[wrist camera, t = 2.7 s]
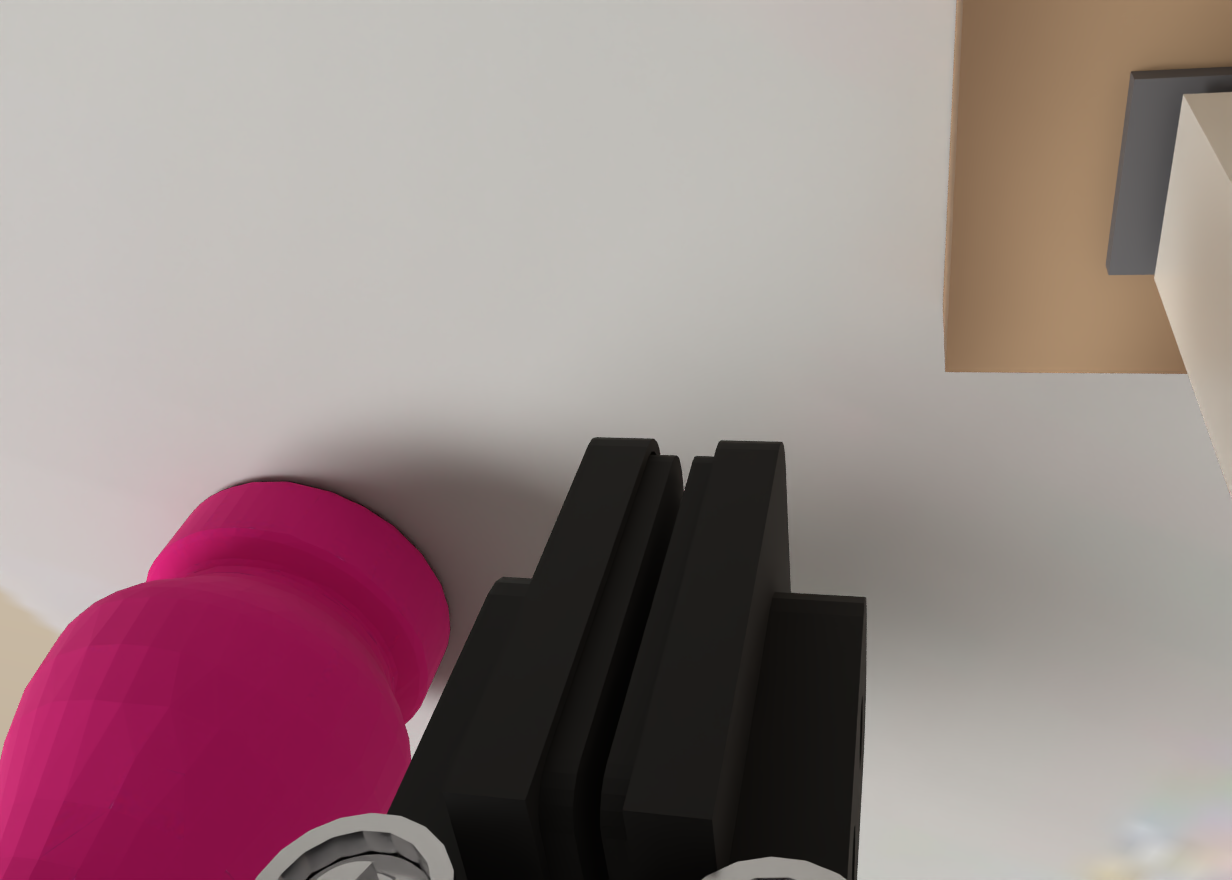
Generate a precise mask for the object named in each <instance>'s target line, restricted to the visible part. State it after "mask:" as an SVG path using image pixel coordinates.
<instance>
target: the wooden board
mask: <svg viewBox="0 0 1232 880" xmlns="http://www.w3.org/2000/svg"><path fill="white" fill-rule="evenodd" d="M1220 92H1232V0H957V2H956V24H955V47H954V69H953V91H952V114H951V136H950V158H949V181H948V203H947V225H946V248H945V270H944V292H943V323H944V349H945V372H1021V373H1161V374H1188V373H1187V370H1186V368H1185V365H1184V362H1183V359H1182V356H1181V353H1180V351H1179V348H1178V345H1177V342H1176V339H1175V336H1174V334H1173V331H1172V328H1171V325H1170V322H1169V319H1168V316H1167V314H1166V311H1165V308H1164V305H1163V302H1162V299H1161V297H1160V294H1159V291H1158V288H1157V285H1156V282H1155V280H1154V276H1155V270H1156V263H1157V257H1158V251H1159V244H1160V238H1161V232H1162V225H1163V219H1164V213H1165V206H1166V200H1167V194H1168V187H1169V181H1170V174H1171V168H1172V162H1173V155H1174V149H1175V143H1176V136H1177V130H1178V124H1179V117H1180V111H1181V105H1182V98H1183V94H1198V93H1220Z"/></svg>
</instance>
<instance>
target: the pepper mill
mask: <svg viewBox="0 0 1232 880" xmlns="http://www.w3.org/2000/svg"><path fill="white" fill-rule="evenodd" d="M449 634H450V620H449V609H448V605H447V602H446V599H445V595H444V592H443V589H442V586H441V584H440V582H439V580H438V579H437V577H436V576H435V574H434V572H433V571H432V569H431V568H430V566H429V565H428V563H427V561H426V560H425V558H424V557H423V555H422V554H421V553H420V552H419V551H418V550H417V549H416V548H415V547H414V546H413V545H412V544H411V543H410V542H409V541H408V540H407V539H406V538H405V537H404V536H403V535H402V534H401V533H400V532H399V531H398V530H397V529H396V528H395V527H394V526H393V525H391V524H390V523H388V522H387V521H385V520H384V519H382V518H380V517H379V516H377V515H376V514H374V513H373V512H371V511H370V510H368V509H367V508H365V507H363V506H361V505H359V504H357V503H355V502H352V501H350V500H348V499H346V498H344V497H342V496H339V495H337V494H335V493H333V492H330V491H326V490H322V489H317V488H313V487H309V486H305V485H301V484H296V483H292V482H251V483H247V484H243V485H239V486H235V487H231V488H228V489H225V490H222V491H220V492H218V493H216V494H214V495H212V496H210V497H209V498H208V499H206V500H205V501H204V502H202V503H201V504H200V505H199V506H198V507H197V508H196V509H195V510H194V511H193V512H192V513H191V515H190V516H189V517H188V518H187V520H186V521H185V522H184V524H183V525H182V526H181V527H180V529H179V530H178V531H177V533H176V534H175V535H174V536H173V538H172V539H171V540H170V542H169V543H168V544H167V545H166V547H165V548H164V549H163V550H162V552H161V553H160V554H159V556H158V557H157V558H156V559H155V561H154V562H153V564H152V566H151V568H150V570H149V572H148V576H147V581H146V582H145V583H141V584H138V585H135V586H132V587H129V588H126V589H123V590H120V591H117V592H115V593H113V594H111V595H109V596H107V597H105V598H103V599H101V600H99V601H97V602H95V603H94V604H93V605H91V606H90V607H89V608H87V609H86V610H85V611H84V612H82V613H81V614H80V615H79V616H78V617H76V618H75V619H74V620H73V621H72V622H71V623H70V624H69V625H68V626H67V627H66V629H65V630H64V631H63V633H62V634H61V635H60V637H59V638H58V639H57V641H56V642H55V644H54V646H53V647H52V648H51V650H50V652H49V653H48V655H47V656H46V658H45V659H44V661H43V662H42V664H41V665H40V667H39V668H38V670H37V672H36V673H35V674H34V676H33V678H32V679H31V681H30V682H29V684H28V685H27V687H26V688H25V690H24V693H23V695H22V698H21V701H20V703H19V706H18V708H17V711H16V714H15V716H14V719H13V721H12V724H11V727H10V729H9V732H8V734H7V737H6V740H5V742H4V747H3V751H2V755H1V759H0V880H255V879H256V877H257V876H258V875H259V874H260V873H261V871H262V870H263V869H264V868H265V867H266V866H267V865H268V864H269V863H270V862H271V861H272V859H273V858H274V857H275V856H276V855H277V854H278V853H279V852H280V851H281V850H282V849H283V848H285V847H286V846H288V845H289V844H291V843H292V842H293V841H295V840H296V839H298V838H299V837H301V836H302V835H304V834H305V833H306V832H308V831H309V830H312V829H314V828H317V827H319V826H322V825H324V824H327V823H329V822H331V821H334V820H336V819H339V818H343V817H349V816H355V815H361V814H368V813H378V814H387V812H388V810H389V808H390V806H391V804H392V801H393V799H394V797H395V795H396V793H397V790H398V788H399V786H400V784H401V782H402V780H403V777H404V775H405V773H406V771H407V769H408V767H409V764H410V762H411V753H410V743H409V737H408V733H407V730H406V726H405V724H406V723H407V722H408V721H409V720H410V719H411V718H412V717H413V716H414V715H415V713H416V712H417V711H418V709H419V708H420V707H421V705H422V703H423V700H424V698H425V696H426V694H427V691H428V689H429V687H430V685H431V683H432V680H433V678H434V676H435V674H436V671H437V669H438V667H439V665H440V662H441V660H442V658H443V656H444V653H445V651H446V648H447V646H448V641H449Z"/></svg>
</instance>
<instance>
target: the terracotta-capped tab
mask: <svg viewBox="0 0 1232 880" xmlns="http://www.w3.org/2000/svg"><path fill="white" fill-rule="evenodd" d="M1154 280H1155V282H1156V285H1157V288H1158V291H1159V294H1160V297H1161V299H1162V302H1163V305H1164V308H1165V311H1166V314H1167V316H1168V319H1169V322H1170V325H1171V328H1172V331H1173V334H1174V336H1175V339H1176V342H1177V345H1178V348H1179V351H1180V353H1181V356H1182V359H1183V362H1184V365H1185V368H1186V370H1187V373H1188V376H1189V379H1190V382H1191V385H1192V388H1193V390H1194V393H1195V396H1196V399H1197V402H1198V405H1199V407H1200V410H1201V413H1202V416H1203V419H1204V422H1205V424H1206V427H1207V430H1208V433H1209V436H1210V439H1211V442H1212V444H1213V447H1214V450H1215V453H1216V456H1217V459H1218V461H1219V464H1220V467H1221V470H1222V473H1223V476H1224V478H1225V481H1226V484H1227V487H1228V490H1229V493H1230V496H1231V498H1232V92H1220V93H1198V94H1183V98H1182V105H1181V111H1180V117H1179V124H1178V130H1177V136H1176V143H1175V149H1174V155H1173V162H1172V168H1171V174H1170V181H1169V187H1168V194H1167V200H1166V206H1165V213H1164V219H1163V225H1162V232H1161V238H1160V244H1159V251H1158V257H1157V263H1156V270H1155V276H1154Z"/></svg>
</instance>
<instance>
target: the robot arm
mask: <svg viewBox="0 0 1232 880" xmlns="http://www.w3.org/2000/svg"><path fill="white" fill-rule="evenodd" d="M866 632H867V610H866V597H854V596H836V595H818V594H800V593H791V588H790V563H789V539H788V514H787V490H786V465H785V451H784V445H783V443H782V442H764V441H724V440H721V441H720V442H719V443H718V445H717V448H716V452H715V455H714V457H710V456H696V457H694V460H693V462H692V466H691V469H690V473H689V476H688V480H687V483H686V487H685V490H684V489H683V479H682V470H681V463H680V460H679V457H678V456H674V455H660V450H659V447H658V444H657V441H656V440H655V439H643V438H603V437H596V438H593V439H592V440H591V442H590V443H589V445H588V447H587V450H586V452H585V454H584V457H583V459H582V461H581V464H580V466H579V468H578V471H577V473H576V476H575V478H574V480H573V483H572V485H571V487H570V490H569V492H568V495H567V497H566V499H565V502H564V504H563V506H562V509H561V511H560V514H559V516H558V518H557V521H556V523H555V525H554V528H553V530H552V533H551V535H550V537H549V540H548V542H547V544H546V547H545V549H544V552H543V554H542V556H541V559H540V561H539V563H538V566H537V568H536V571H535V573H534V575H533V578H532V579H530V578H512V577H502V578H501V579H499V580H498V581H496V582H495V584H494V585H493V587H492V589H491V590H490V592H489V593H488V595H487V598H486V600H485V602H484V604H483V606H482V608H481V611H480V613H479V615H478V617H477V619H476V621H475V624H474V626H473V628H472V630H471V632H470V634H469V637H468V639H467V641H466V643H465V645H464V647H463V650H462V652H461V654H460V656H459V658H458V660H457V663H456V665H455V667H454V669H453V671H452V673H451V676H450V678H449V680H448V682H447V684H446V686H445V689H444V691H443V693H442V695H441V697H440V699H439V702H438V704H437V706H436V708H435V710H434V712H433V715H432V717H431V719H430V721H429V723H428V725H427V728H426V730H425V732H424V734H423V736H422V738H421V741H420V743H419V745H418V747H417V749H416V751H415V754H414V756H413V758H412V760H411V762H410V764H409V767H408V769H407V771H406V773H405V775H404V777H403V780H402V782H401V784H400V786H399V788H398V790H397V793H396V795H395V797H394V799H393V801H392V804H391V806H390V808H389V810H388V812H387V814H378V813H368V814H361V815H355V816H349V817H343V818H339V819H336V820H334V821H331V822H329V823H327V824H324V825H322V826H319V827H317V828H314V829H312V830H309V831H308V832H306V833H305V834H304V835H302V836H301V837H299V838H298V839H296V840H295V841H293V842H292V843H291V844H289V845H288V846H286V847H285V848H283V849H282V850H281V851H280V852H279V853H278V854H277V855H276V856H275V857H274V858H273V859H272V861H271V862H270V863H269V864H268V865H267V866H266V867H265V868H264V869H263V870H262V871H261V873H260V874H259V875H258V876H257V877H256V879H255V880H857V868H858V850H859V831H860V813H861V794H862V776H863V757H864V734H865V704H866Z"/></svg>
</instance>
